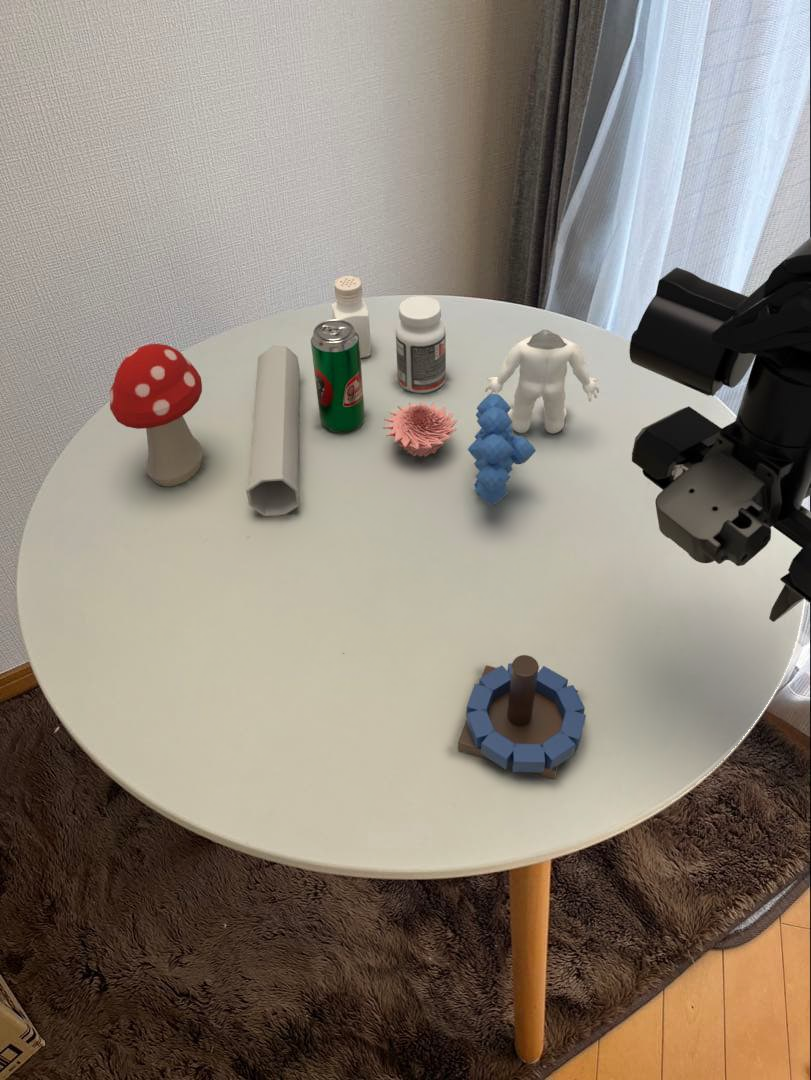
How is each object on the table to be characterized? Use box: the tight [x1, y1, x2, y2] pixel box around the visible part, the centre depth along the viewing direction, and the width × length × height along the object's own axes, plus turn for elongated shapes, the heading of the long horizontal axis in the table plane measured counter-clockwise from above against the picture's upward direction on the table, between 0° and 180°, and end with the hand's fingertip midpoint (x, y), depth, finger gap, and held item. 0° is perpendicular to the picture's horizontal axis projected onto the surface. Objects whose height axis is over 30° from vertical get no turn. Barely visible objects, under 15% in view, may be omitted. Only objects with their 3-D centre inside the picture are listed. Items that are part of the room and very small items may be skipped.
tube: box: [245, 344, 301, 517], centre depth 99 cm, size 5×5×25 cm
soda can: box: [310, 318, 366, 433], centre depth 98 cm, size 5×5×12 cm
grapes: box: [467, 393, 537, 506], centre depth 89 cm, size 12×7×12 cm, turn 177°
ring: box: [465, 662, 587, 773], centre depth 72 cm, size 9×10×2 cm
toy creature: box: [484, 329, 600, 434], centre depth 96 cm, size 12×6×12 cm, turn 87°
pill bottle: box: [395, 295, 447, 394], centre depth 103 cm, size 6×6×10 cm
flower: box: [382, 401, 458, 458], centre depth 96 cm, size 8×8×6 cm
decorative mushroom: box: [109, 343, 204, 487], centre depth 92 cm, size 10×9×15 cm
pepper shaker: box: [330, 275, 372, 359], centre depth 108 cm, size 4×4×10 cm
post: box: [457, 654, 579, 780], centre depth 71 cm, size 8×8×8 cm
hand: (727, 579), depth 69 cm, fingers open, 9 cm apart
